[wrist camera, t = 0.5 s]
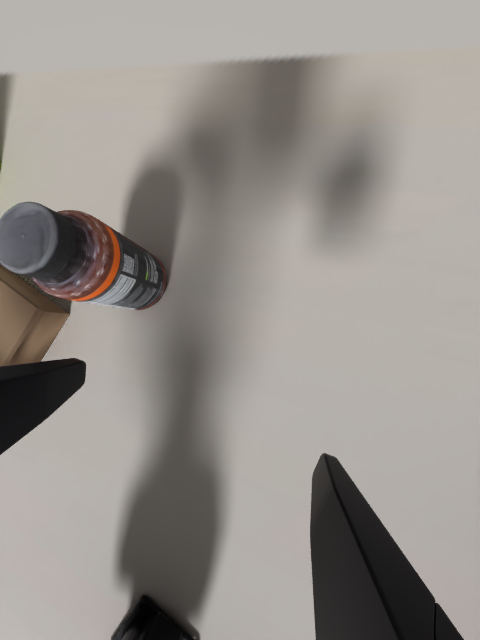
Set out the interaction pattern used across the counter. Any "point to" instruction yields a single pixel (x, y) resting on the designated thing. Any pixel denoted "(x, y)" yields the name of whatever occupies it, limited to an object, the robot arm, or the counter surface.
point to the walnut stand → (25, 321)
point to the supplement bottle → (79, 257)
